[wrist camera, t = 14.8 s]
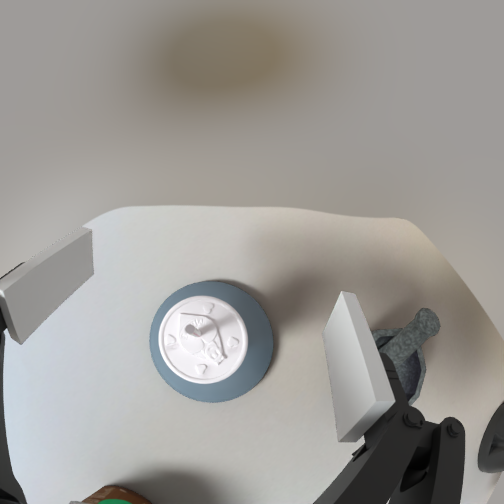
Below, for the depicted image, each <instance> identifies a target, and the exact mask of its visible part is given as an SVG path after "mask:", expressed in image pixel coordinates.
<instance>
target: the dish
mask: <svg viewBox="0 0 504 504" xmlns="http://www.w3.org/2000/svg"><path fill="white" fill-rule="evenodd" d="M194 296H211V297H215V298H218V299H220V300H223V301H224V302H226V303H228V304H229V305H231V306H232V307H233V308H234V309H235V310H236V311H237V312H238V313H239V315H240V316H241V318H242V320H243V321H244V324H245V326H246V329H247V334H248V348H247V352H246V356H245V358H244V360H243V362H242V364H241V365H240V367H239V368H238V369H237V370H236V371H235V372H234V373H233V374H232V375H230V376H229V377H227V378H226V379H224V380H221V381H219V382H215V383H210V384H199V383H194V382H190V381H187V380H185V379H183V378H181V377H180V376H178V375H177V374H175V373H174V372H173V371H172V370H171V369H170V368H169V367H168V365H167V364H166V362H165V361H164V359H163V357H162V354H161V351H160V348H159V330H160V326H161V323H162V321H163V319H164V317H165V315H166V314H167V312H168V311H169V310H170V309H171V308H172V307H173V306H174V305H176V304H177V303H178V302H180V301H182V300H184V299H187V298H189V297H194ZM149 341H150V351H151V356H152V359H153V362H154V364H155V366H156V368H157V370H158V372H159V374H160V375H161V377H162V378H163V379H164V380H165V381H166V382H167V384H168V385H170V386H171V387H172V388H173V389H174V390H176V391H177V392H179V393H180V394H182V395H184V396H186V397H188V398H191V399H194V400H197V401H202V402H212V403H214V402H224V401H228V400H232V399H235V398H237V397H239V396H241V395H243V394H245V393H247V392H248V391H249V390H251V389H252V388H253V387H254V386H255V385H256V384H257V383H258V382H259V381H260V380H261V379H262V377H263V376H264V374H265V372H266V371H267V369H268V366H269V364H270V361H271V358H272V352H273V334H272V329H271V325H270V323H269V320H268V318H267V316H266V314H265V312H264V310H263V309H262V308H261V306H260V305H259V304H258V303H257V302H256V301H255V299H254V298H252V297H251V296H250V295H249V294H247V293H246V292H244V291H243V290H241V289H239V288H237V287H235V286H233V285H230V284H226V283H222V282H214V281H206V282H198V283H193V284H190V285H187V286H185V287H183V288H181V289H179V290H177V291H176V292H174V293H173V294H172V295H171V296H169V297H168V298H167V299H166V300H165V301H164V303H163V304H162V305H161V306H160V308H159V309H158V311H157V313H156V315H155V317H154V319H153V322H152V325H151V330H150V340H149Z"/></svg>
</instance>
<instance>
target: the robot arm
mask: <svg viewBox="0 0 504 504" xmlns="http://www.w3.org/2000/svg"><path fill="white" fill-rule="evenodd" d="M93 275H94V268H93V249H92V229H88V228H84V227H80V228H79V229H77V230H75V231H74V232H72V233H70V234H68V235H67V236H65V237H63V238H62V239H60V240H59V241H57V242H55V243H54V244H52V245H50V246H49V247H47V248H46V249H44V250H43V251H41V252H40V253H38V254H37V255H35V256H34V257H32V258H30V259H29V260H28V261H26V262H23V263H21V264H19V265H18V266H16V267H15V268H14V270H11V271H9V272H8V273H7V274H5V275H4V276H3V277H1V278H0V504H27V502H26V499H25V496H24V493H23V490H22V488H21V486H20V485H19V483H18V482H17V480H16V479H15V477H14V475H13V471H12V467H11V462H10V457H9V451H8V445H7V437H6V429H5V419H4V404H3V362H4V346H5V334H4V332H3V331H4V330H5V329H6V328H7V329H8V331H9V334H10V336H11V338H12V339H13V340H15V341H16V342H18V343H19V344H21V345H22V344H23V343H24V342H25V341H26V339H27V338H28V337H29V336H30V335H31V334H32V333H33V332H34V331H35V330H36V329H37V328H38V327H39V326H40V325H41V324H42V323H43V322H44V321H45V320H46V319H47V318H48V317H49V316H50V315H51V314H52V313H53V312H54V311H55V310H56V309H57V308H58V307H59V306H60V305H61V304H62V303H63V302H64V301H65V300H66V299H67V298H68V297H69V296H71V295H72V294H73V293H74V292H75V291H76V290H77V289H78V288H79V287H80V286H81V285H82V284H84V283H85V282H86V281H87V280H88V279H89V278H90V277H91V276H93ZM322 335H323V341H324V347H325V352H326V358H327V365H328V371H329V377H330V384H331V391H332V398H333V405H334V413H335V420H336V428H337V437H338V442H357V441H358V440H359V439H360V438H361V437H362V436H363V435H364V438H365V443H364V444H363V445H362V446H361V447H360V448H359V449H358V450H356V451H355V452H354V453H353V454H352V455H353V456H354V457H353V458H352V459H351V461H350V462H349V463H348V464H347V466H346V467H345V468H344V469H343V471H342V472H341V473H340V474H339V475H338V477H337V478H336V479H335V480H334V481H333V482H332V484H331V485H330V486H329V487H328V488H327V489H326V490H325V491H324V492H323V494H322V495H321V496H320V497H319V498H318V499H317V500H316V501H315V502H314V503H313V504H386V503H387V502H388V500H389V498H390V500H389V503H388V504H460V500H461V493H462V485H463V475H464V461H465V430H464V427H463V425H462V423H461V422H460V421H459V420H457V419H456V418H454V417H447V418H445V419H444V420H443V421H442V422H441V423H440V424H436V423H432V422H428V421H425V418H424V416H423V415H422V413H421V412H420V411H419V410H418V409H416V408H414V407H412V406H409V403H408V401H407V398H406V395H405V392H404V389H403V387H402V384H401V381H400V380H399V376H398V373H396V368H395V366H394V363H393V361H392V360H391V359H390V357H389V356H388V355H387V354H386V353H381V352H378V349H377V347H376V344H375V341H374V339H373V336H372V334H371V331H370V329H369V326H368V324H367V321H366V319H365V316H364V314H363V311H362V309H361V306H360V304H359V302H358V299H357V297H356V295H355V294H354V293H349V292H345V291H341V293H340V295H339V298H338V300H337V302H336V304H335V307H334V309H333V311H332V313H331V316H330V318H329V320H328V322H327V324H326V326H325V329H324V331H323V333H322ZM478 467H479V469H480V471H482V472H486V473H496V472H501V471H504V403H503V404H502V405H501V406H500V407H499V408H498V410H497V411H496V413H495V414H494V416H493V417H492V419H491V421H490V423H489V425H488V427H487V429H486V432H485V434H484V437H483V439H482V442H481V446H480V450H479V455H478Z"/></svg>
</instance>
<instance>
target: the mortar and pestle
mask: <svg viewBox="0 0 504 504" xmlns="http://www.w3.org/2000/svg"><path fill="white" fill-rule="evenodd" d="M439 329H440V322H439V319H438V317H437V316H436V314H435V313H434V312H433V311H431V310H430V309H428V308H422V309H421V310H420V311H419V312H418V313H417V314H416V316H415V319H414V320H413V321H412V322H411V323H409V324H408V325H407V326H406V327H405V328H404V329H403V328H400V329H384V330H375V331H371V334H372V336H373V339H374V341H375V344H376V347H377V349H378V352H381V353H386V354H387V355H388V356H389V357H390V359H391V360H392V361H393V363H394V366H395V368H396V373H398V376H399V380H400V381H401V384H402V387H403V389H404V392H405V395H406V398H407V401H408V403H409V406H411V405H412V404H413V403H414V402H415V401H416V399H417V398H418V397H419V395H420V391H421V388H422V384H423V380H424V377H425V373H426V365H425V361H424V357H423V353H422V349H421V345H422V344H423V343H424V342H425V341H426V340H427V339H428V338H429V337H430V336H435V335H436V334H437V333H438V331H439Z"/></svg>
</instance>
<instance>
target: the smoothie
mask: <svg viewBox="0 0 504 504" xmlns="http://www.w3.org/2000/svg"><path fill="white" fill-rule="evenodd" d="M159 348H160V351H161V354H162V357H163V359H164V361H165V362H166V364H167V365H168V367H169V368H170V369H171V370H172V371H173V372H174V373H175V374H177V375H178V376H180V377H181V378H183V379H185V380H187V381H190V382H194V383H199V384H210V383H215V382H219V381H221V380H224V379H226V378H227V377H229V376H230V375H232V374H233V373H234V372H235V371H236V370H237V369H238V368H239V367H240V365H241V364H242V362H243V360H244V358H245V356H246V352H247V348H248V334H247V329H246V326H245V324H244V321H243V320H242V318H241V316H240V315H239V313H238V312H237V311H236V310H235V309H234V308H233V307H232V306H231V305H229V304H228V303H226V302H224V301H223V300H220V299H218V298H215V297H211V296H194V297H189V298H187V299H184V300H182V301H180V302H178V303H177V304H176V305H174V306H173V307H172V308H171V309H170V310H169V311H168V312H167V314H166V315H165V317H164V319H163V321H162V323H161V326H160V330H159Z"/></svg>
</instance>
